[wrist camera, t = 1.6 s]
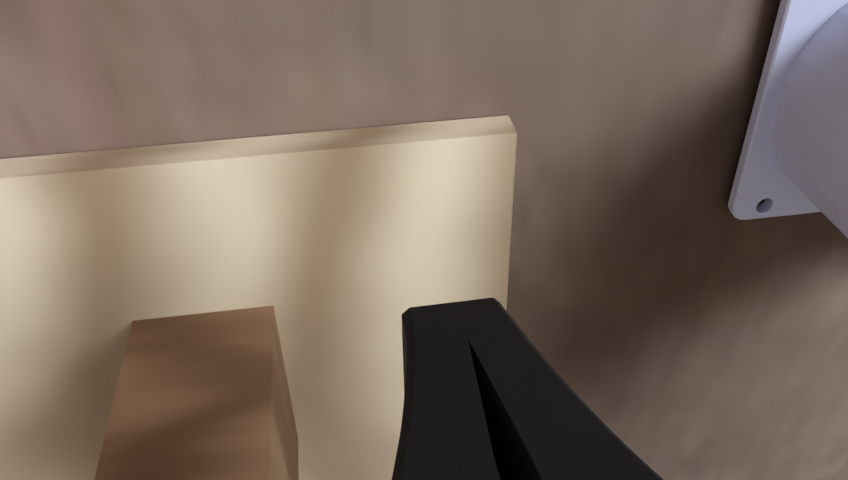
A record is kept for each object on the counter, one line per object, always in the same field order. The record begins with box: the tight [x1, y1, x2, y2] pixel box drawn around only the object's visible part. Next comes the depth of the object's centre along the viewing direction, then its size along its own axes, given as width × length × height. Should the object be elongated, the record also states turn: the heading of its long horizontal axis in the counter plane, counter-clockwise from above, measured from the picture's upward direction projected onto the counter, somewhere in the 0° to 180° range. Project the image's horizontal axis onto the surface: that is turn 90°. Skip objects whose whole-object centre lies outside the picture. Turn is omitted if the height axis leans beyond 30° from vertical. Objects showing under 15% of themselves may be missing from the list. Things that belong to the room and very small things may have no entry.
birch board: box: [0, 115, 517, 480], centre depth 24 cm, size 24×16×1 cm, turn 92°
